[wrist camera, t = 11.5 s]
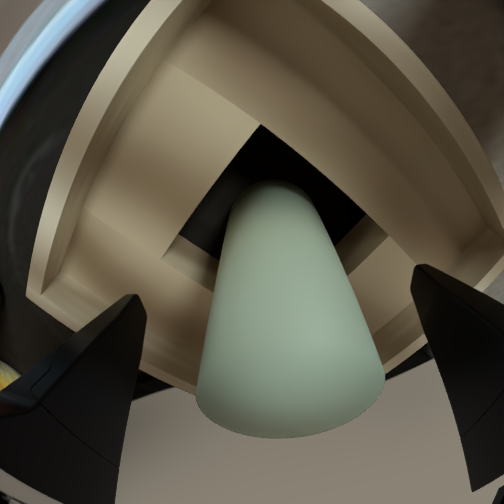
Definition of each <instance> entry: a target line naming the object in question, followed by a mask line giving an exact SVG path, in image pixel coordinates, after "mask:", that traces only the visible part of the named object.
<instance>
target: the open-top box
mask: <svg viewBox="0 0 504 504" xmlns="http://www.w3.org/2000/svg"><path fill="white" fill-rule="evenodd" d="M260 124H262V125H263V126H264V127H266V128H267V129H268V130H270V131H271V132H272V133H274V134H275V135H276V136H278V137H279V138H280V139H281V140H283V141H284V142H285V143H287V144H288V145H289V146H290V147H292V148H293V149H294V150H295V151H296V152H298V153H299V154H300V155H301V156H303V157H304V158H305V159H306V160H307V161H309V162H310V163H311V164H312V165H313V166H315V167H316V168H317V169H318V170H319V171H320V172H322V173H323V174H324V175H325V176H326V177H327V178H329V179H330V180H331V181H332V182H333V183H334V184H335V185H336V186H338V187H339V188H340V189H341V190H342V191H343V192H344V193H345V194H346V195H348V196H349V197H350V198H351V199H352V200H353V201H354V202H355V203H356V204H357V205H358V206H359V207H360V208H362V209H363V210H364V211H365V212H366V213H367V214H366V215H365V216H364V217H363V218H362V219H361V220H360V221H359V222H358V223H357V224H356V225H355V226H354V227H353V228H352V229H351V230H350V231H349V232H348V233H347V234H346V235H345V236H344V237H343V238H342V239H341V240H340V241H339V242H338V244H337V245H336V246H335V247H334V248H335V250H336V252H337V255H338V257H339V259H340V261H341V263H342V266H343V268H344V270H345V273H346V275H347V277H348V280H349V282H350V284H351V287H352V289H353V291H354V294H355V296H356V299H357V301H358V303H359V306H360V308H361V311H362V313H363V316H364V318H365V321H366V323H367V326H368V329H369V331H370V334H371V336H372V339H373V342H374V344H375V347H376V350H377V352H378V355H379V358H380V361H381V364H382V366H383V369H384V373H385V374H386V373H387V372H389V371H390V370H392V369H393V368H394V367H396V366H397V365H398V364H400V363H401V362H403V361H404V360H405V359H407V358H408V357H409V356H411V355H412V354H413V353H415V352H416V351H417V350H418V349H420V348H421V347H422V346H423V345H425V344H426V343H427V342H428V341H427V339H426V336H425V334H424V331H423V328H422V325H421V322H420V319H419V316H418V313H417V310H416V307H415V304H414V301H413V298H412V295H411V291H410V284H411V279H412V274H413V269H414V267H415V266H416V265H418V264H424V263H426V264H429V265H431V266H433V267H435V268H437V269H439V270H441V271H442V272H444V273H446V274H448V275H450V276H452V277H454V278H456V279H458V280H460V281H462V282H464V283H466V284H467V285H469V286H471V287H473V288H475V289H477V290H479V291H480V292H483V291H484V290H485V289H486V288H487V287H488V286H489V285H490V284H491V283H492V281H493V280H494V279H495V278H496V277H497V276H498V275H499V274H500V273H501V271H502V270H503V269H504V190H503V188H502V186H501V184H500V181H499V179H498V177H497V175H496V173H495V171H494V169H493V167H492V165H491V163H490V161H489V159H488V157H487V156H486V154H485V152H484V150H483V148H482V146H481V145H480V143H479V141H478V140H477V138H476V136H475V134H474V133H473V131H472V130H471V128H470V126H469V125H468V123H467V122H466V120H465V118H464V117H463V115H462V114H461V112H460V111H459V109H458V108H457V107H456V105H455V104H454V102H453V101H452V99H451V98H450V97H449V95H448V94H447V93H446V91H445V90H444V89H443V87H442V86H441V85H440V83H439V82H438V81H437V79H436V78H435V77H434V76H433V74H432V73H431V72H430V71H429V70H428V68H427V67H426V66H425V65H424V64H423V63H422V61H421V60H420V59H419V58H418V57H417V56H416V55H415V53H414V52H413V51H412V50H411V49H410V48H409V47H408V46H407V45H406V44H405V43H404V42H403V41H402V40H401V39H400V38H399V36H398V35H397V34H396V33H395V32H393V31H392V30H391V29H390V28H389V27H388V26H387V25H386V24H385V23H384V22H383V21H382V20H381V19H380V18H379V17H378V16H376V15H375V14H374V13H373V12H372V11H371V10H370V9H368V8H367V7H366V6H365V5H364V4H363V3H361V2H360V1H359V0H151V1H150V2H149V4H148V5H147V6H146V7H145V9H144V10H143V11H142V12H141V14H140V15H139V16H138V18H137V19H136V20H135V22H134V23H133V24H132V26H131V27H130V28H129V30H128V31H127V33H126V34H125V35H124V37H123V38H122V40H121V41H120V43H119V44H118V46H117V47H116V49H115V50H114V52H113V54H112V55H111V57H110V58H109V60H108V62H107V63H106V65H105V66H104V68H103V70H102V72H101V73H100V75H99V77H98V78H97V80H96V82H95V84H94V86H93V87H92V89H91V91H90V93H89V95H88V97H87V99H86V101H85V103H84V105H83V107H82V109H81V111H80V113H79V115H78V117H77V119H76V121H75V124H74V126H73V128H72V130H71V133H70V135H69V137H68V140H67V142H66V144H65V147H64V149H63V152H62V155H61V157H60V160H59V162H58V165H57V168H56V171H55V174H54V176H53V179H52V182H51V185H50V188H49V192H48V195H47V198H46V201H45V205H44V208H43V212H42V216H41V219H40V223H39V227H38V231H37V236H36V240H35V245H34V249H33V254H32V260H31V265H30V271H29V277H28V284H27V291H26V297H28V298H29V299H30V300H31V301H33V302H34V303H35V304H37V305H38V306H39V307H41V308H42V309H43V310H45V311H46V312H47V313H49V314H50V315H52V316H53V317H54V318H56V319H57V320H59V321H60V322H62V323H63V324H64V325H66V326H67V327H69V328H70V329H72V330H73V331H75V332H78V331H79V330H80V329H81V328H83V327H84V326H85V325H86V324H88V323H89V322H90V321H92V320H93V319H94V318H95V317H97V316H98V315H99V314H101V313H102V312H103V311H105V310H106V309H107V308H108V307H110V306H111V305H112V304H114V303H115V302H116V301H118V300H119V299H120V298H122V297H123V296H124V295H126V294H138V295H139V297H140V299H141V301H142V303H143V306H144V308H145V310H146V313H147V323H146V330H145V337H144V344H143V351H142V357H141V362H140V366H139V369H140V370H142V371H144V372H146V373H148V374H150V375H152V376H154V377H156V378H158V379H160V380H162V381H164V382H166V383H168V384H170V385H173V386H175V387H177V388H179V389H181V390H184V391H186V392H188V393H190V394H193V395H195V396H196V387H197V381H198V375H199V370H200V364H201V358H202V352H203V347H204V341H205V335H206V330H207V324H208V319H209V314H210V308H211V303H212V298H213V293H214V287H215V282H216V277H217V272H218V267H219V262H220V261H219V260H217V259H216V258H214V257H213V256H211V255H209V254H208V253H206V252H205V251H203V250H202V249H200V248H199V247H197V246H196V245H194V244H192V243H191V242H189V241H188V240H186V239H185V238H183V237H182V236H180V235H179V234H178V233H179V231H180V230H181V228H182V227H183V225H184V224H185V223H186V221H187V220H188V218H189V217H190V216H191V214H192V213H193V211H194V210H195V209H196V207H197V206H198V204H199V203H200V202H201V200H202V199H203V197H204V196H205V195H206V193H207V192H208V191H209V189H210V188H211V187H212V185H213V184H214V183H215V181H216V180H217V179H218V177H219V176H220V175H221V173H222V172H223V171H224V169H225V168H226V167H227V165H228V164H229V163H230V161H231V160H232V159H233V158H234V156H235V155H236V154H237V152H238V151H239V150H240V149H241V147H242V146H243V145H244V144H245V142H246V141H247V140H248V139H249V137H250V136H251V135H252V134H253V132H254V131H255V130H256V129H257V128H258V126H259V125H260Z"/></svg>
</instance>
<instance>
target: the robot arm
mask: <svg viewBox="0 0 504 504" xmlns="http://www.w3.org/2000/svg"><path fill="white" fill-rule="evenodd" d="M410 291H411V295H412V298H413V301H414V304H415V307H416V310H417V313H418V316H419V319H420V322H421V325H422V328H423V331H424V334H425V336H426V339H427V341H428V343H429V346H430V348H431V351H432V353H433V356H434V359H435V361H436V364H437V366H438V369H439V372H440V375H441V377H442V380H443V383H444V386H445V388H446V392H447V394H448V398H449V400H450V404H451V407H452V410H453V414H454V417H455V421H456V424H457V428H458V431H459V435H460V437H461V443H462V447H463V451H464V456H465V460H466V465H467V469H468V474H469V479H470V485H471V490H472V492H474V491H476V490H478V489H480V488H481V487H483V486H485V485H487V484H489V483H490V482H492V481H494V480H495V479H497V478H499V477H500V476H502V475H503V474H504V304H502V303H500V302H498V301H497V300H495V299H493V298H491V297H489V296H488V295H486V294H484V293H482V292H480V291H479V290H477V289H475V288H473V287H471V286H469V285H467V284H466V283H464V282H462V281H460V280H458V279H456V278H454V277H452V276H450V275H448V274H446V273H444V272H442V271H441V270H439V269H437V268H435V267H433V266H431V265H429V264H426V263H424V264H418V265H416V266H415V267H414V269H413V274H412V279H411V284H410ZM146 323H147V313H146V310H145V308H144V306H143V303H142V301H141V299H140V297H139V295H138V294H126V295H124V296H123V297H122V298H120V299H119V300H118V301H116V302H115V303H114V304H112V305H111V306H110V307H108V308H107V309H106V310H105V311H103V312H102V313H101V314H99V315H98V316H97V317H95V318H94V319H93V320H92V321H90V322H89V323H88V324H86V325H85V326H84V327H83V328H81V329H80V330H79V331H78V332H76V333H75V334H74V335H72V336H71V337H70V338H69V339H67V340H66V341H65V342H64V343H62V344H61V345H60V346H59V347H57V348H56V349H55V350H54V352H51V353H50V354H49V355H48V356H46V357H45V358H44V359H43V360H41V361H40V362H39V363H37V364H36V365H35V366H34V367H32V368H31V369H30V370H28V371H27V372H26V373H24V374H23V375H21V376H20V377H19V378H17V379H16V380H14V381H13V382H12V383H10V384H9V385H8V386H6V387H5V388H4V389H2V390H1V391H0V504H115V496H116V489H117V481H118V474H119V466H120V460H121V453H122V447H123V442H124V436H125V431H126V426H127V420H128V415H129V410H130V406H131V401H132V396H133V392H134V387H135V383H136V379H137V374H138V370H139V366H140V362H141V357H142V351H143V344H144V337H145V330H146ZM492 504H504V485H503V486H502V487H500V488H499V489H498V492H497V494H496V496H495V498H494V501H493V503H492Z"/></svg>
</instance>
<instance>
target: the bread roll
mask: <svg viewBox="0 0 504 504" xmlns="http://www.w3.org/2000/svg"><path fill="white" fill-rule="evenodd" d="M20 376H21V375H20V374H19V373H18V372H16V371H15V370H14V369H13V368H12V367H10V366H9V365H7V364H6V363H4V362H2V361H0V391H1V390H2V389H4V388H5V387H6V386H8V385H9V384H10V383H12V382H13V381H14V380H16V379H17V378H19V377H20Z"/></svg>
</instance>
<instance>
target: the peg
mask: <svg viewBox="0 0 504 504" xmlns="http://www.w3.org/2000/svg"><path fill="white" fill-rule="evenodd" d="M384 384H385V373H384V369H383V366H382V364H381V361H380V358H379V355H378V352H377V350H376V347H375V344H374V342H373V339H372V336H371V334H370V331H369V329H368V326H367V323H366V321H365V318H364V316H363V313H362V311H361V308H360V306H359V303H358V301H357V299H356V296H355V294H354V291H353V289H352V287H351V284H350V282H349V280H348V277H347V275H346V273H345V270H344V268H343V266H342V263H341V261H340V259H339V257H338V255H337V252H336V250H335V248H334V246H333V244H332V241H331V239H330V237H329V235H328V233H327V231H326V229H325V226H324V224H323V222H322V220H321V218H320V216H319V214H318V212H317V210H316V208H315V206H314V204H313V202H312V200H311V199H310V197H309V196H308V195H307V193H306V192H305V191H304V190H302V189H301V188H300V187H298V186H297V185H295V184H293V183H290V182H288V181H284V180H277V179H271V180H263V181H260V182H256V183H254V184H252V185H250V186H249V187H247V188H246V189H244V190H243V191H242V192H241V193H240V194H239V195H238V196H237V198H236V199H235V201H234V203H233V205H232V207H231V210H230V214H229V219H228V223H227V228H226V233H225V238H224V242H223V247H222V252H221V257H220V262H219V267H218V272H217V277H216V282H215V287H214V293H213V298H212V303H211V308H210V314H209V319H208V324H207V330H206V335H205V341H204V347H203V352H202V358H201V364H200V370H199V375H198V381H197V387H196V401H197V403H198V406H199V408H200V409H201V411H202V412H203V413H204V414H205V415H206V416H207V417H208V418H209V419H210V420H212V421H213V422H214V423H216V424H218V425H220V426H221V427H224V428H226V429H228V430H231V431H234V432H236V433H240V434H243V435H248V436H253V437H261V438H295V437H304V436H309V435H314V434H318V433H321V432H325V431H328V430H331V429H334V428H336V427H339V426H341V425H343V424H345V423H347V422H349V421H351V420H353V419H355V418H356V417H358V416H359V415H361V414H362V413H363V412H365V411H366V410H367V409H368V408H369V407H370V406H372V404H373V403H374V402H375V401H376V400H377V398H378V397H379V396H380V394H381V392H382V390H383V387H384Z"/></svg>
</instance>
